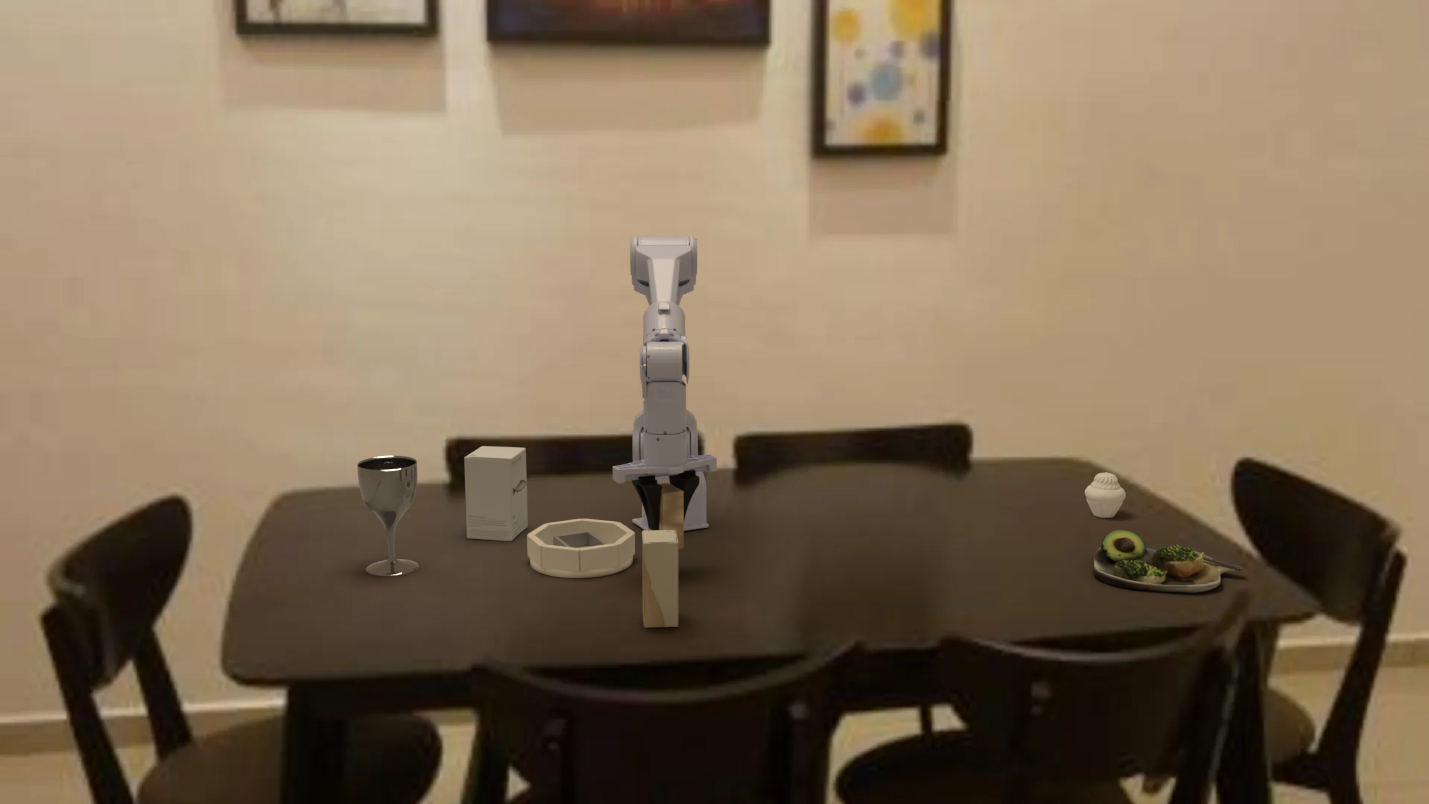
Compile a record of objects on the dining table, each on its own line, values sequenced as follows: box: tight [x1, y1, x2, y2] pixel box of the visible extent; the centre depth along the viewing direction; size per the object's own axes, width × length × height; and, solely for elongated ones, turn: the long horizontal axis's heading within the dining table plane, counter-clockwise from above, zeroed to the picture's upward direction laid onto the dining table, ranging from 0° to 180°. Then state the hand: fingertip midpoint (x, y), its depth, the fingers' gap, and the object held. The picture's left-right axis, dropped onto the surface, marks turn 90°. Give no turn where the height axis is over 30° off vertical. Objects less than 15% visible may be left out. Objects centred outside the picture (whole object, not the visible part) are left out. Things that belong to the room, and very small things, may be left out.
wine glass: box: [356, 455, 420, 577], centre depth 189 cm, size 8×8×15 cm
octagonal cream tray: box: [526, 518, 636, 579], centre depth 193 cm, size 14×14×4 cm
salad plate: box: [1091, 529, 1243, 593], centre depth 188 cm, size 19×18×5 cm
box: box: [641, 530, 679, 629], centre depth 169 cm, size 5×4×11 cm
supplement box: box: [463, 445, 529, 542], centre depth 205 cm, size 7×7×13 cm
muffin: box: [1084, 471, 1127, 519], centre depth 215 cm, size 6×6×7 cm
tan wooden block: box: [648, 482, 685, 550], centre depth 186 cm, size 3×5×8 cm, turn 26°
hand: (665, 527), depth 187 cm, fingers closed on tan wooden block, 3 cm apart
